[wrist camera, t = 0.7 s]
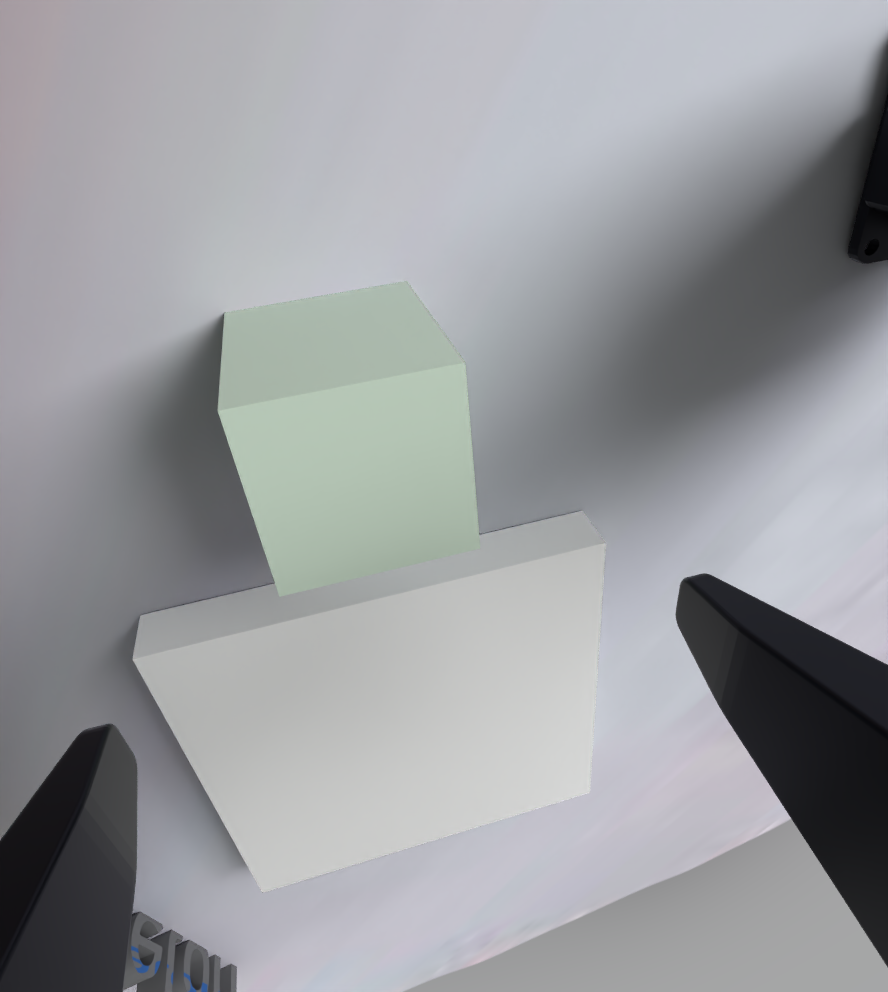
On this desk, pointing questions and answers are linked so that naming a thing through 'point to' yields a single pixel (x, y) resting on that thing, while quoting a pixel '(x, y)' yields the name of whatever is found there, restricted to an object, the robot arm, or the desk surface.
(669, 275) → the desk surface
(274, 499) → the sage block
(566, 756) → the base plate
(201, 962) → the extruded letter logo
